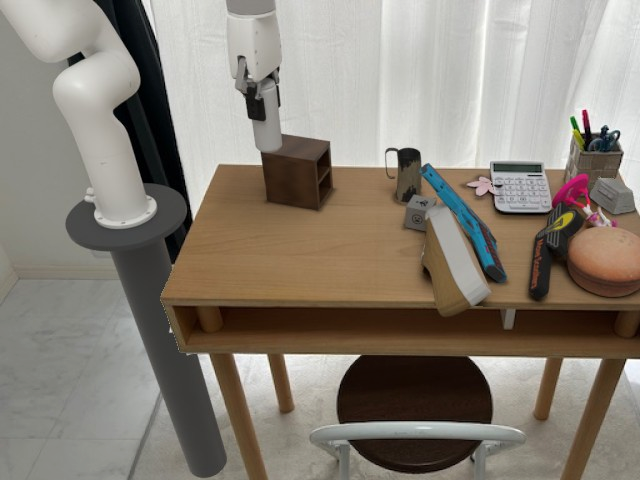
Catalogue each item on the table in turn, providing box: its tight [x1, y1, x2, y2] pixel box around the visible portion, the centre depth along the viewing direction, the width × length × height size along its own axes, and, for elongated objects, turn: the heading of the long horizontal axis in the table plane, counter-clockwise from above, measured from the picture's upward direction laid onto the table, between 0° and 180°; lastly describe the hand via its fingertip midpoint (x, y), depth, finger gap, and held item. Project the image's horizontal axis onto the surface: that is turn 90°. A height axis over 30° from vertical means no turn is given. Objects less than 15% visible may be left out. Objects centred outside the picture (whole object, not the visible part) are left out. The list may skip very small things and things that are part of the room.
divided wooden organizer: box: [259, 133, 334, 211], centre depth 134 cm, size 12×9×12 cm
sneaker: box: [420, 200, 492, 318], centre depth 115 cm, size 10×29×10 cm
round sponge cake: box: [566, 226, 640, 298], centre depth 116 cm, size 16×16×10 cm
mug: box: [384, 147, 423, 206], centre depth 134 cm, size 8×6×12 cm
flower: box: [466, 176, 501, 197], centre depth 141 cm, size 10×10×2 cm
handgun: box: [419, 162, 508, 283], centre depth 115 cm, size 23×3×15 cm
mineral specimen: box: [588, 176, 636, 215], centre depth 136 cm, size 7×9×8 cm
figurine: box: [551, 173, 618, 228], centre depth 129 cm, size 10×10×15 cm
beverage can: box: [249, 78, 282, 153], centre depth 108 cm, size 5×5×12 cm
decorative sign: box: [528, 201, 585, 300], centre depth 119 cm, size 27×2×10 cm
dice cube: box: [404, 195, 438, 232], centre depth 128 cm, size 5×5×5 cm
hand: (264, 111), depth 108 cm, fingers closed on beverage can, 4 cm apart
